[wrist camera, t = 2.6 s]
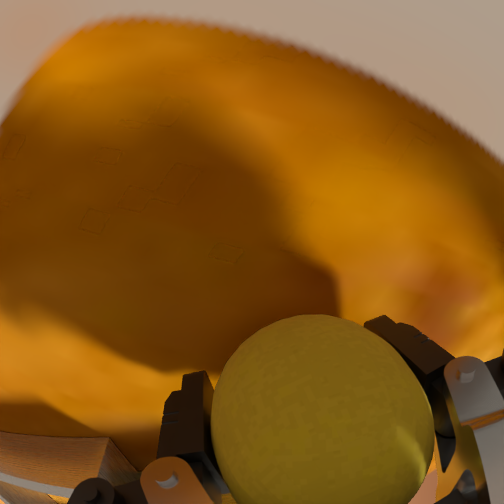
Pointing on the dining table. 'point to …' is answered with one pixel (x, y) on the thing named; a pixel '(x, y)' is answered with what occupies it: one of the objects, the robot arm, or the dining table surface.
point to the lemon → (320, 417)
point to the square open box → (60, 467)
